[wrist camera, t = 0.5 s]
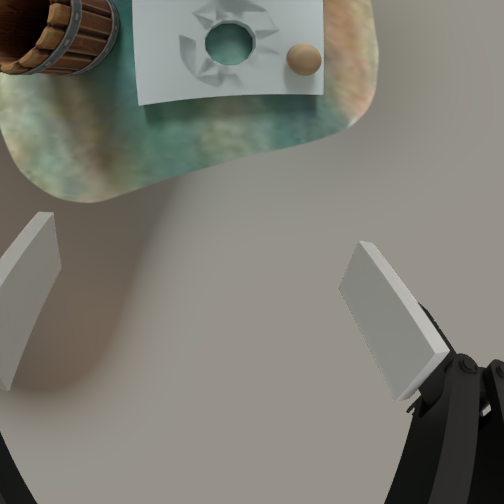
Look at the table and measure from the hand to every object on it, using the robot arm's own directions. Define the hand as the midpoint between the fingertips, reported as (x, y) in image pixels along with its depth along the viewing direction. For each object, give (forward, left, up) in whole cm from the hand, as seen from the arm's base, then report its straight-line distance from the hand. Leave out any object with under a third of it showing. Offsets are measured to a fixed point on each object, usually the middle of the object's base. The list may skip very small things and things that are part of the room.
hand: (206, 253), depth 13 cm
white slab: (-16, +3, -26) cm, 31 cm away
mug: (-16, -16, -26) cm, 35 cm away
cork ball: (-8, +10, -22) cm, 25 cm away
